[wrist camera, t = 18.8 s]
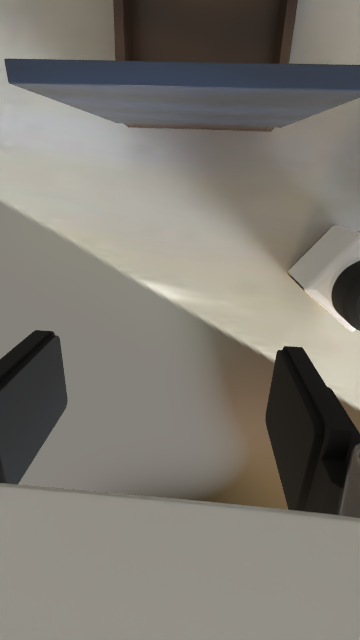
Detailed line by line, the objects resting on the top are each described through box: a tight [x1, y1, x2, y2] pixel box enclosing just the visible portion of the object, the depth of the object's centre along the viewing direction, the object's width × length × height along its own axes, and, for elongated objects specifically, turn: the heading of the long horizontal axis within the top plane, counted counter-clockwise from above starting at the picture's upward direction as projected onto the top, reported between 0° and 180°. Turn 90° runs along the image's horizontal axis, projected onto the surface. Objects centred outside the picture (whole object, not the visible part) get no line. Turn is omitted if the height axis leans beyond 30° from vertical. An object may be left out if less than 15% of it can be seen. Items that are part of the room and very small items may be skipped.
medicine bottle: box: [288, 225, 360, 331], centre depth 31 cm, size 7×7×12 cm
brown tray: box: [113, 0, 297, 131], centre depth 27 cm, size 17×15×4 cm
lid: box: [5, 59, 360, 128], centre depth 20 cm, size 17×15×1 cm
